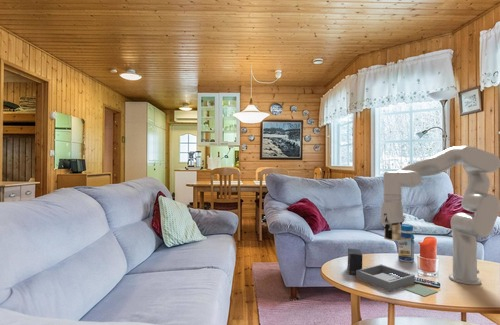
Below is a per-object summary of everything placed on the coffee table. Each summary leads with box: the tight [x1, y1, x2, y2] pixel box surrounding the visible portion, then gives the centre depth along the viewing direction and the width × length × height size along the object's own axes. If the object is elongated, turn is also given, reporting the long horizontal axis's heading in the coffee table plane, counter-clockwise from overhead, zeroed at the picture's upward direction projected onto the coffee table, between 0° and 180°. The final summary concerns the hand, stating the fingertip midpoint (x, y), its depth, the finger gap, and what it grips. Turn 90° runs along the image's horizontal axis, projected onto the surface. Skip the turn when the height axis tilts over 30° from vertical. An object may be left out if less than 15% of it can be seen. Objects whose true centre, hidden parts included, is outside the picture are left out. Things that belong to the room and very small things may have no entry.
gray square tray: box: [355, 264, 416, 293], centre depth 150 cm, size 18×18×4 cm
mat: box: [404, 284, 439, 298], centre depth 139 cm, size 10×9×1 cm
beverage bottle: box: [397, 223, 416, 263], centre depth 182 cm, size 8×8×20 cm
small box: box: [347, 248, 363, 276], centre depth 162 cm, size 11×6×10 cm, turn 168°
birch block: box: [383, 223, 401, 242], centre depth 147 cm, size 5×5×7 cm
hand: (392, 237), depth 147 cm, fingers closed on birch block, 5 cm apart
